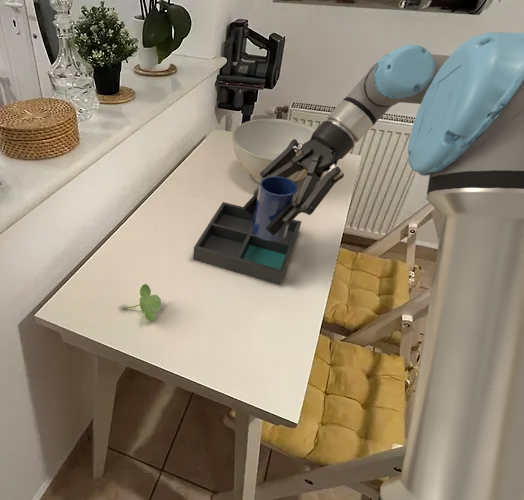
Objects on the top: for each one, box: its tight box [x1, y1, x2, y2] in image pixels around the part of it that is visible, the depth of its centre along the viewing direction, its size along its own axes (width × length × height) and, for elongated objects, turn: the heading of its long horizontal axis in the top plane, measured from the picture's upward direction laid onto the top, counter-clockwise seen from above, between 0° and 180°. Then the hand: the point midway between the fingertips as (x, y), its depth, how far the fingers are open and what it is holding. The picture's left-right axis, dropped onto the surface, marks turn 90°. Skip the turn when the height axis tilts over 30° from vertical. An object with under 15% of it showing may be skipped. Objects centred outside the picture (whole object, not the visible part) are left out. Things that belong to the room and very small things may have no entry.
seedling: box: [122, 283, 162, 322], centre depth 84 cm, size 7×8×7 cm
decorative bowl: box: [231, 118, 317, 184], centre depth 123 cm, size 27×27×12 cm
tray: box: [192, 201, 302, 286], centre depth 100 cm, size 20×20×4 cm
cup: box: [252, 176, 299, 241], centre depth 87 cm, size 7×7×11 cm
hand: (258, 221), depth 87 cm, fingers closed on cup, 7 cm apart
